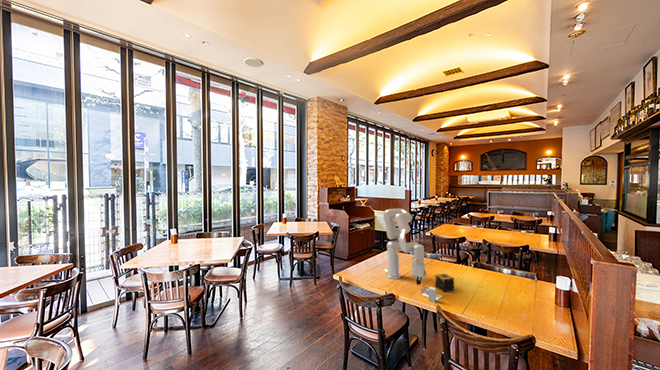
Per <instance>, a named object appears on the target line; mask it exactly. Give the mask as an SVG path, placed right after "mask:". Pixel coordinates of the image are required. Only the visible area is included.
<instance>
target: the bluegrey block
mask: <svg viewBox="0 0 660 370" xmlns="http://www.w3.org/2000/svg"><path fill="white" fill-rule="evenodd" d="M428 288H429V298H428V302H430V301H431V303H436V301H437V300H436V294H437V290H436V288H437V287H435V286H434V287H432V286H429V287H428ZM435 300H436V301H435Z"/></svg>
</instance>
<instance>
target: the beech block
mask: <svg viewBox="0 0 660 370" xmlns="http://www.w3.org/2000/svg"><path fill="white" fill-rule="evenodd" d="M420 293H421V294H426V295H429V287H427V286H425V285H422V286H421V287H420Z"/></svg>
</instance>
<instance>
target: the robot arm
mask: <svg viewBox="0 0 660 370" xmlns="http://www.w3.org/2000/svg"><path fill="white" fill-rule="evenodd" d="M382 217H383V220H384V224H385V232H386V236H387V239H389V240H390V241H388V242H387V243H386V250H387V269H386V268H385V269H384V272H385V273H386V277H387V278H388V279H392V280H394V279H395V280H397V279H400V278H401V277H402V276H401V274H400V256H399V254H398V252H403V253H406V254H408V253H413V257H412V259H411V260H412V262H411V269H410V270H411V271H410V273H411V275H412V276H413V277H414V278H415V281H416V282H415V283H416V285H417V286H420V285H421V284H422V279H424V280H425V279H426V275H427V272H426V271H427V270H426V264H425V248H424V247H425V246H424V245H423V244H420V243H418V242H417V241H411V242H407V240H406V234H407V233H409V232H410V231H411V227H410V225H409V223H411V221H412V220H413V217H412V214H411V213H410V212H408V211H407V210H405V209H403V208H389V209H386V210H384V212H383V214H382ZM394 219H395V221H394ZM396 224H397V226H396Z"/></svg>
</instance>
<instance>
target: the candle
mask: <svg viewBox="0 0 660 370" xmlns="http://www.w3.org/2000/svg"><path fill="white" fill-rule="evenodd" d="M434 288H437V289H438V290H440V291H442V292H444V293H445V292H451V291H455V277H453V276H452V275H449V274H447V273H440V274H439V273H438V274H435V286H434Z"/></svg>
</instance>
